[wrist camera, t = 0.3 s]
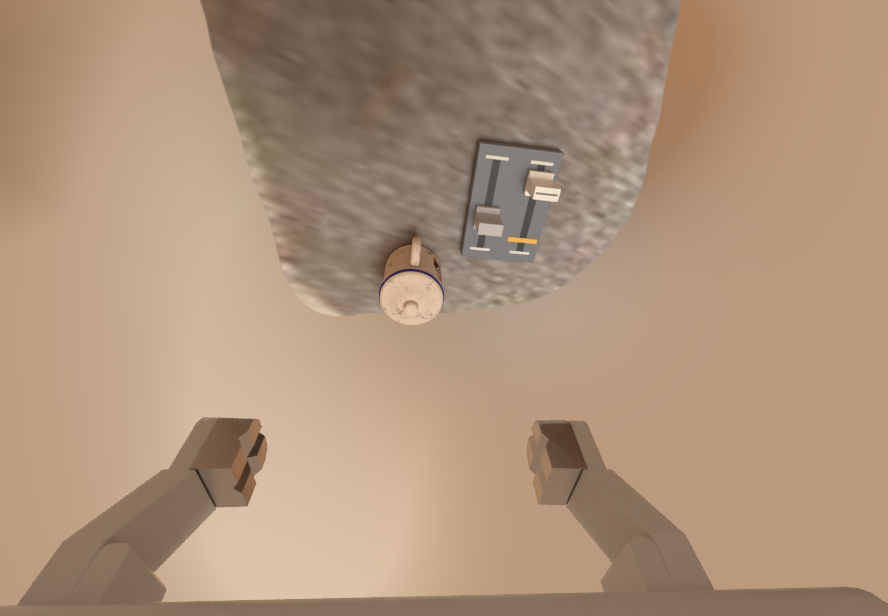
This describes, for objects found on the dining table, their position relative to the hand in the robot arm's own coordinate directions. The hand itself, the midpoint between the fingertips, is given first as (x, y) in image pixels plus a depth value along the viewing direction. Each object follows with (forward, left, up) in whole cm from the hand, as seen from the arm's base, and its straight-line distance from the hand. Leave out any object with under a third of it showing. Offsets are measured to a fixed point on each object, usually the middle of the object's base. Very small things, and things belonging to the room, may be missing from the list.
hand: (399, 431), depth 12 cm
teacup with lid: (+18, +1, -46) cm, 50 cm away
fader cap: (+4, +16, -44) cm, 47 cm away
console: (+8, +13, -46) cm, 49 cm away
